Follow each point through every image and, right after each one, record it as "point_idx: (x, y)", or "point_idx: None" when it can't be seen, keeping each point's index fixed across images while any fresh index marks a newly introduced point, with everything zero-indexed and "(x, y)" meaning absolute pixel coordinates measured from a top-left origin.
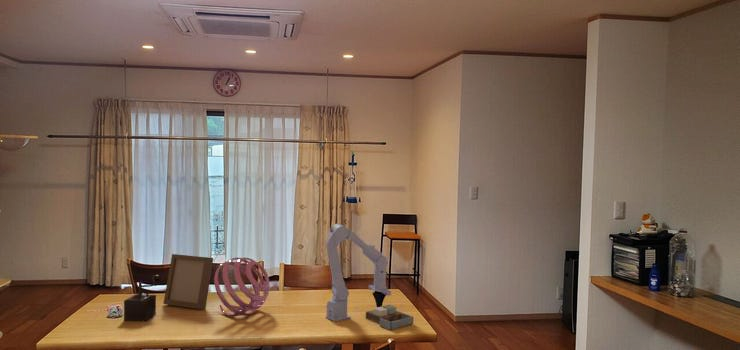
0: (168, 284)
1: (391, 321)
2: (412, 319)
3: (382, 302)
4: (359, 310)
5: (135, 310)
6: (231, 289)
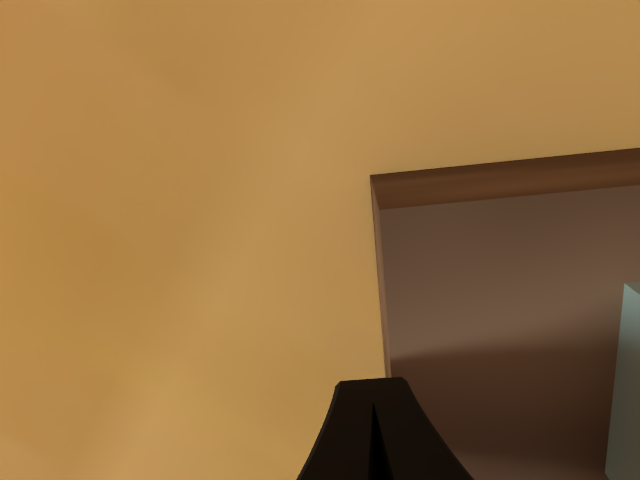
0: None
1: None
2: None
3: (445, 456)
4: (36, 459)
5: None
6: None
